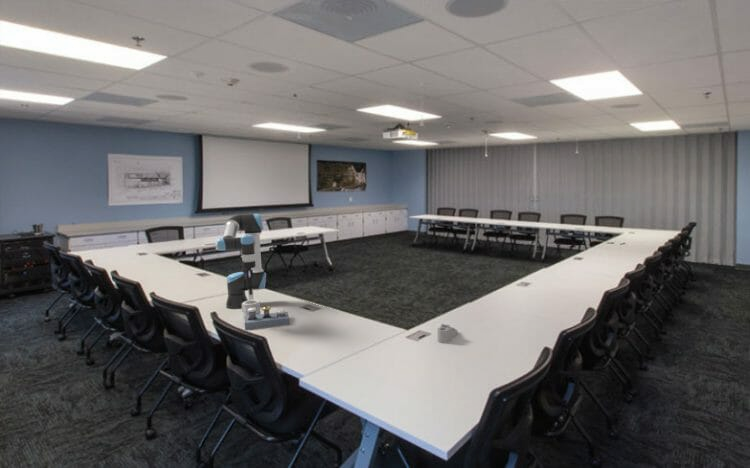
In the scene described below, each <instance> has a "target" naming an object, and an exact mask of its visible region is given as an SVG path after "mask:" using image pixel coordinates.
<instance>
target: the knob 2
mask: <svg viewBox="0 0 750 468" xmlns="http://www.w3.org/2000/svg"><path fill="white" fill-rule="evenodd" d="M285 312H286V310H285V309H278V310H276V313H277V314H278V317H283V316H284V313H285Z"/></svg>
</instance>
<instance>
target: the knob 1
mask: <svg viewBox="0 0 750 468" xmlns="http://www.w3.org/2000/svg"><path fill="white" fill-rule="evenodd" d="M248 312H249V320H254V319H256V308H249V309H248Z"/></svg>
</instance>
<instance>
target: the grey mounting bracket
mask: <svg viewBox="0 0 750 468" xmlns="http://www.w3.org/2000/svg"><path fill="white" fill-rule="evenodd" d="M458 334H459V331H458V329H456V328H455V327H451V326H450V325H449V324H445V323H441V324H440V326H439V327H438V328H437V342H438V343H439V344H447V343H449V342H450V341H451V340H453V338H455V337H456V336H457V335H458Z"/></svg>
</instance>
